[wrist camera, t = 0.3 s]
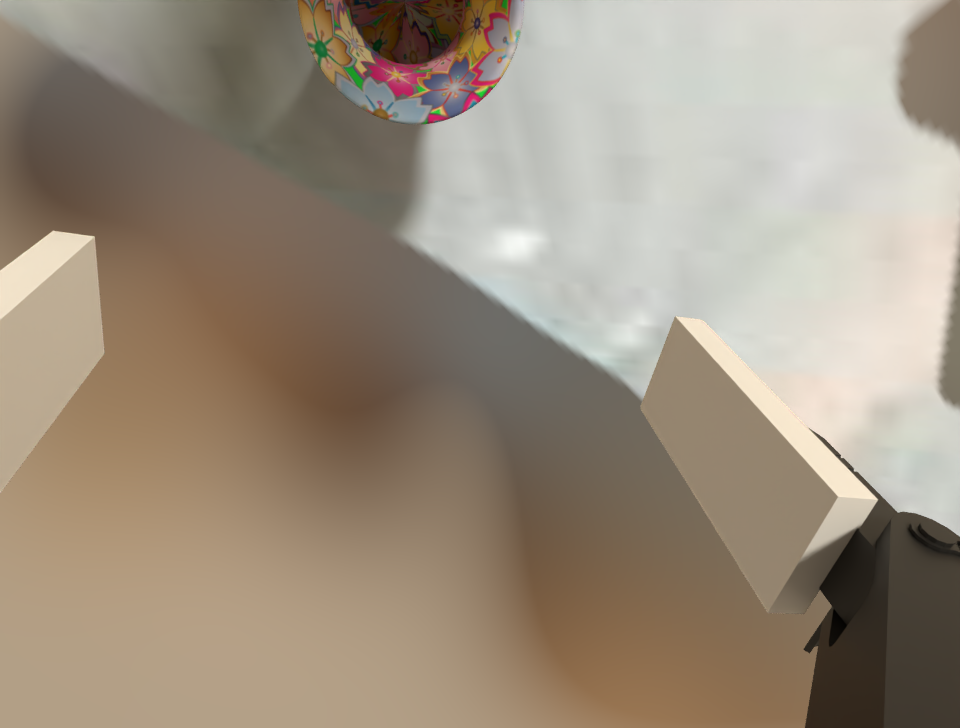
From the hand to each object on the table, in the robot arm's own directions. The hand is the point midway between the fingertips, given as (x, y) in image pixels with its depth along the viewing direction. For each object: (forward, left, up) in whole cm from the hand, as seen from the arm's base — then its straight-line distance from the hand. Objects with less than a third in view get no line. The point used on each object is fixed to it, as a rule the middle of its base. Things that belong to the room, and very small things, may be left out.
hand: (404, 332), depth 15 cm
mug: (-8, +1, -28) cm, 29 cm away
